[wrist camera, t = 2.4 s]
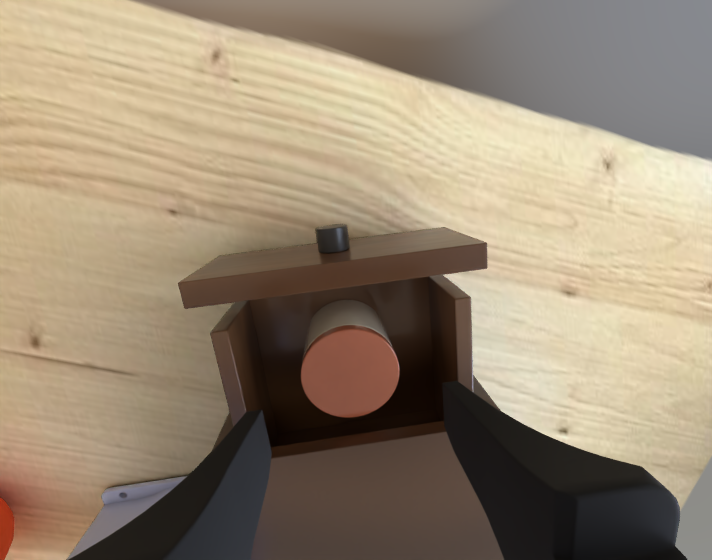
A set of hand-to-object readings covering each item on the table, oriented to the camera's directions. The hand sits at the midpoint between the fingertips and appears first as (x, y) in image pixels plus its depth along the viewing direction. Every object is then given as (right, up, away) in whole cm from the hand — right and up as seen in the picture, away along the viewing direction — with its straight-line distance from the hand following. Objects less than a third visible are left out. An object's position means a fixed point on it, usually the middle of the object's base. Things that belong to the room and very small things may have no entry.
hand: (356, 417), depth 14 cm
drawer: (-1, +2, +8) cm, 9 cm away
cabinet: (0, -7, +12) cm, 14 cm away
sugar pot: (-1, +2, +7) cm, 8 cm away
